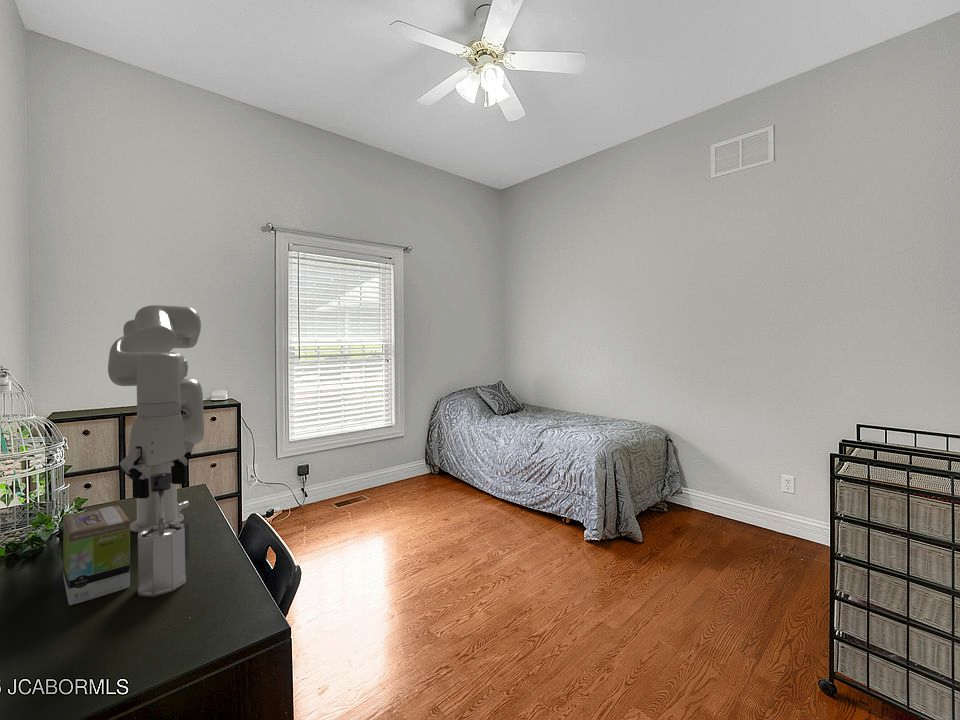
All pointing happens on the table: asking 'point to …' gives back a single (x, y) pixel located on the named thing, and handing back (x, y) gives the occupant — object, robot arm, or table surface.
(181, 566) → the carafe
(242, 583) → the table surface
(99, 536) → the tea box
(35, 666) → the table surface
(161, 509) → the plunger
